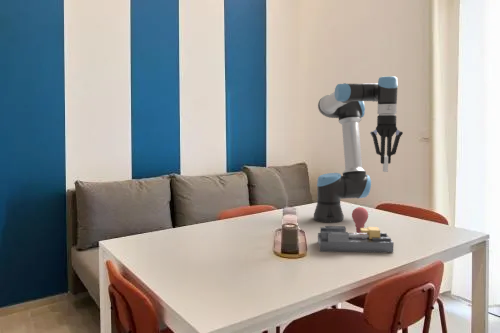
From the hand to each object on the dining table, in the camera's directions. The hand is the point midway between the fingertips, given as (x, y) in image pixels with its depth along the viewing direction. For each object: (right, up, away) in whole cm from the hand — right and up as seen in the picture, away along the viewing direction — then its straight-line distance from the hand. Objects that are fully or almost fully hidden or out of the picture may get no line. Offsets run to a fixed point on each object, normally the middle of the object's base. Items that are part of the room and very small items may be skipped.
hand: (385, 171), depth 174 cm
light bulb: (-7, -28, +13) cm, 32 cm away
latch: (-9, -26, -7) cm, 29 cm away
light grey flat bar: (-18, -26, -7) cm, 32 cm away
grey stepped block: (-15, -31, -6) cm, 35 cm away
